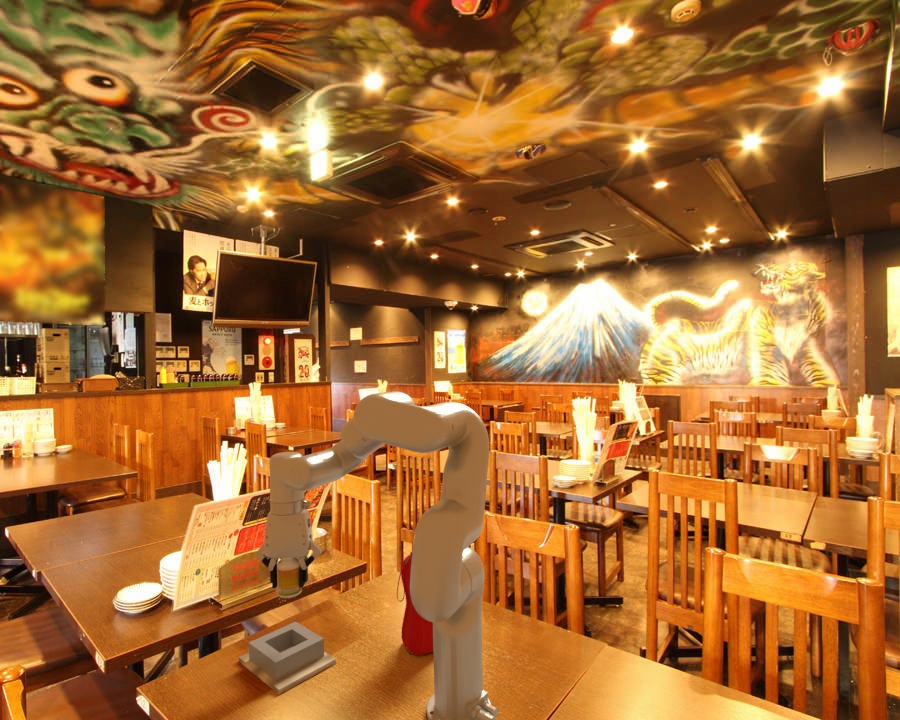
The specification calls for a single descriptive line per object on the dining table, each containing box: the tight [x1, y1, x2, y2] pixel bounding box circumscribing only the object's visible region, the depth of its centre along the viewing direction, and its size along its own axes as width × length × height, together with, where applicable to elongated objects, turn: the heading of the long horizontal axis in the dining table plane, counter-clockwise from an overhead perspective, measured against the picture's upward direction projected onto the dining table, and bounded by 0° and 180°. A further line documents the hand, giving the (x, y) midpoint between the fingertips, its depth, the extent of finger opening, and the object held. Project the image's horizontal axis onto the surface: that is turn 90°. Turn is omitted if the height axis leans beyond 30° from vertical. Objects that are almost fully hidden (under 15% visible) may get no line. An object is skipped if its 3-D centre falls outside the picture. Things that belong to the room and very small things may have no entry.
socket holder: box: [248, 621, 325, 681], centre depth 116 cm, size 12×12×4 cm
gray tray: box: [238, 646, 337, 695], centre depth 116 cm, size 18×14×1 cm
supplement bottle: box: [276, 557, 303, 599], centre depth 117 cm, size 5×5×10 cm
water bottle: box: [396, 542, 433, 657], centre depth 121 cm, size 9×11×25 cm
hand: (289, 584), depth 117 cm, fingers closed on supplement bottle, 5 cm apart
